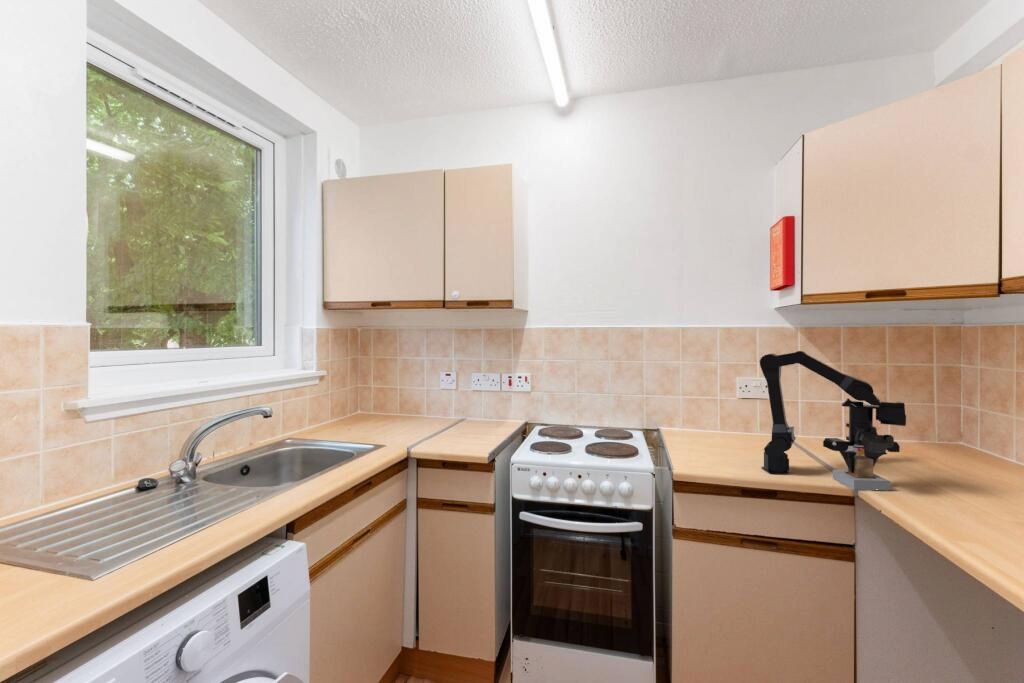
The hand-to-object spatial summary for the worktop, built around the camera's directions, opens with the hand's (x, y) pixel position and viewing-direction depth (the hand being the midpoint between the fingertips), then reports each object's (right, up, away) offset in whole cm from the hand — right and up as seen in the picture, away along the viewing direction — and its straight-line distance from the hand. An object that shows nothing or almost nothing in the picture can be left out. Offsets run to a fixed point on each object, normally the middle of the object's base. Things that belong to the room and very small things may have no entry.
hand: (860, 472), depth 136 cm
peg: (0, -1, 0) cm, 1 cm away
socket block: (0, -4, 0) cm, 4 cm away
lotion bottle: (+19, -3, +24) cm, 31 cm away
